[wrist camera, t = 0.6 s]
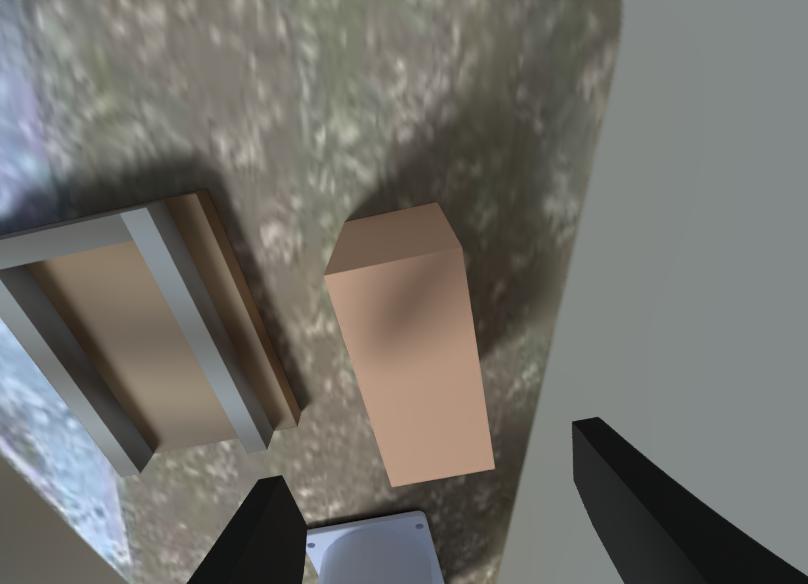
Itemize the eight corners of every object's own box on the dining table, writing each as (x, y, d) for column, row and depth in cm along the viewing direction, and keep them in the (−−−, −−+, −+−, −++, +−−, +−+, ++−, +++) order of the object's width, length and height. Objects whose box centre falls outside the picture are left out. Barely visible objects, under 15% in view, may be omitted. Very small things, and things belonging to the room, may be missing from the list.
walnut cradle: (301, 412, 20) (291, 445, 18) (124, 446, 21) (97, 481, 19) (206, 188, 15) (180, 200, 13) (-23, 240, 16) (-82, 258, 14)
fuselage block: (465, 371, 20) (495, 468, 15) (390, 386, 20) (391, 487, 15) (437, 201, 16) (461, 246, 11) (344, 221, 16) (323, 275, 11)
